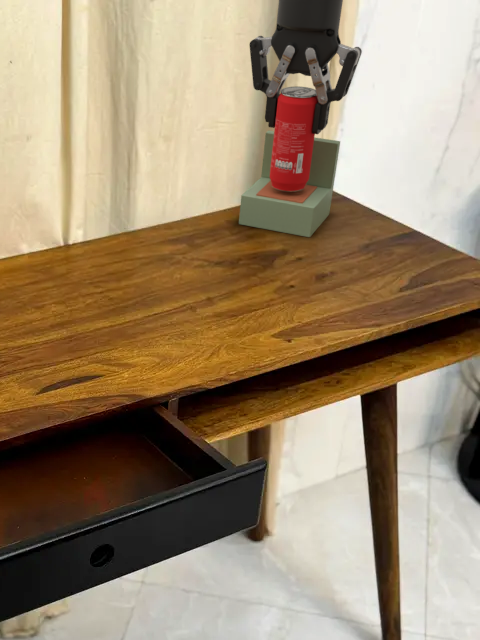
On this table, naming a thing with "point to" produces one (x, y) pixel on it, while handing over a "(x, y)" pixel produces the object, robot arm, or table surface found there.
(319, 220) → the shelf stand
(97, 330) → the table surface
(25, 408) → the table surface
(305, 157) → the beverage can
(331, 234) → the table surface
